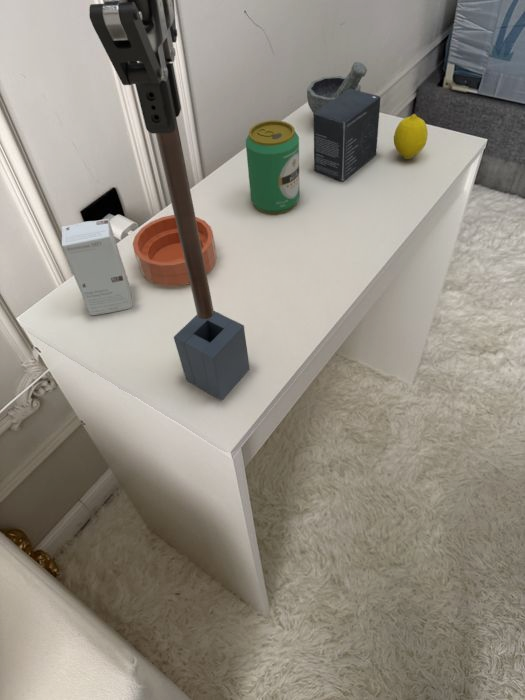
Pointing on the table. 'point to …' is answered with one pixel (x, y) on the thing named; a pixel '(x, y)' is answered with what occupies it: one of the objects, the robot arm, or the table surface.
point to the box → (346, 133)
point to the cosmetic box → (97, 266)
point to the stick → (185, 218)
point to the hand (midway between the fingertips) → (164, 122)
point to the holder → (213, 353)
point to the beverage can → (273, 166)
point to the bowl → (169, 251)
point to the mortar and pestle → (334, 87)
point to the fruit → (410, 136)
